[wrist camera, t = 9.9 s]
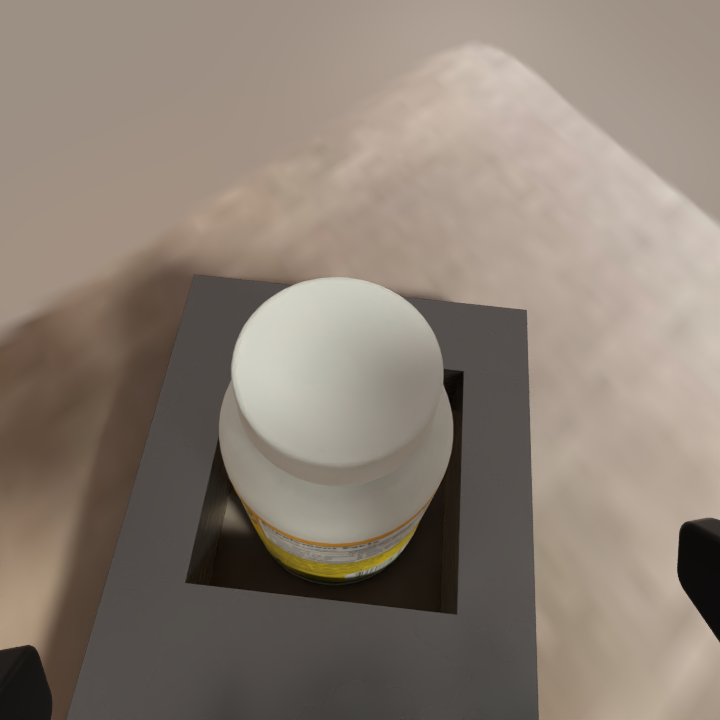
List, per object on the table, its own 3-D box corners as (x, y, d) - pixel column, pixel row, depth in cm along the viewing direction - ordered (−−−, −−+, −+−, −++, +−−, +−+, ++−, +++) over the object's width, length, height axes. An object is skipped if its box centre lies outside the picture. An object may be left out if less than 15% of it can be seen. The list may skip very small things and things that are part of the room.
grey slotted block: (510, 1161, 13) (555, 1282, 10) (10, 1094, 13) (-72, 1198, 11) (504, 353, 22) (526, 310, 20) (210, 322, 23) (194, 274, 20)
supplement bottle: (396, 608, 18) (453, 548, 10) (228, 560, 19) (140, 463, 10) (432, 444, 21) (501, 282, 12) (282, 405, 21) (248, 223, 13)
